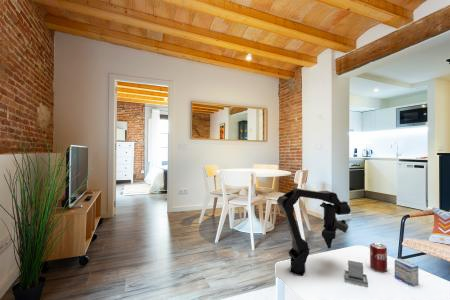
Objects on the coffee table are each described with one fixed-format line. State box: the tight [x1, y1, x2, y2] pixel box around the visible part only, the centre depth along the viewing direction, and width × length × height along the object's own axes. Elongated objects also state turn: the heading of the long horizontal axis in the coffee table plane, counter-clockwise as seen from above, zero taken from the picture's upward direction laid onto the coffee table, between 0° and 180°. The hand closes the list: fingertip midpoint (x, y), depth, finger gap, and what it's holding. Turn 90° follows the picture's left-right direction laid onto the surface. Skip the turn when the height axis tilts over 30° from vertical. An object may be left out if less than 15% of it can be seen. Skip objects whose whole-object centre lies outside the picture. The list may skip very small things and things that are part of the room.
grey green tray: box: [344, 270, 369, 288], centre depth 106 cm, size 9×7×2 cm
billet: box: [347, 259, 364, 281], centre depth 106 cm, size 6×4×7 cm, turn 62°
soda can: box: [369, 242, 388, 273], centre depth 116 cm, size 7×7×12 cm
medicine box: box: [394, 258, 420, 287], centre depth 106 cm, size 8×4×9 cm, turn 21°
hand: (329, 245), depth 118 cm, fingers open, 9 cm apart
